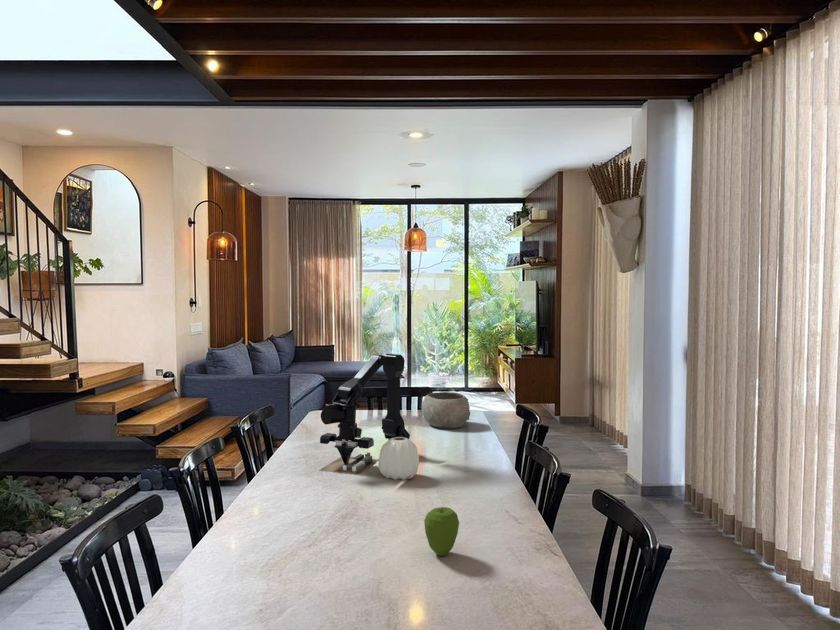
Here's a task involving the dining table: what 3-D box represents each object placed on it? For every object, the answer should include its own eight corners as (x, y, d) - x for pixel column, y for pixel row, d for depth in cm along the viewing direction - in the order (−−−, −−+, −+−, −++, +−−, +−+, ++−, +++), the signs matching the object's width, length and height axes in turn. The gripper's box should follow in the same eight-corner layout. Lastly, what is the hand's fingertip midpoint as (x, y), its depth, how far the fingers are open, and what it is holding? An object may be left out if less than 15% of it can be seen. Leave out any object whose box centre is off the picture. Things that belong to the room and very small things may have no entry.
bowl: (415, 428, 279) (415, 396, 279) (428, 419, 301) (429, 389, 301) (463, 432, 272) (464, 400, 272) (473, 422, 294) (474, 392, 294)
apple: (438, 543, 150) (439, 498, 150) (465, 553, 145) (466, 506, 145) (416, 554, 144) (417, 507, 143) (444, 565, 138) (445, 516, 138)
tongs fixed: (376, 458, 224) (376, 452, 224) (356, 472, 206) (356, 465, 206) (367, 458, 225) (367, 451, 225) (347, 471, 207) (347, 464, 207)
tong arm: (364, 460, 221) (364, 454, 221) (346, 471, 207) (346, 464, 207) (359, 459, 222) (359, 454, 222) (342, 470, 208) (342, 464, 208)
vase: (414, 484, 197) (414, 444, 196) (373, 481, 200) (374, 441, 199) (422, 472, 210) (423, 435, 210) (384, 469, 213) (384, 432, 213)
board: (379, 461, 223) (379, 459, 223) (358, 477, 204) (358, 474, 204) (342, 457, 228) (342, 455, 228) (318, 472, 208) (318, 470, 208)
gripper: (380, 419, 217) (378, 462, 217) (333, 415, 222) (332, 456, 223) (368, 425, 206) (366, 470, 206) (319, 420, 212) (318, 463, 212)
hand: (345, 464), depth 212 cm, fingers closed
